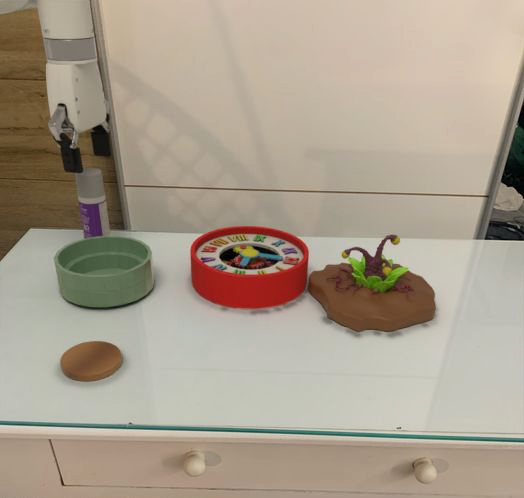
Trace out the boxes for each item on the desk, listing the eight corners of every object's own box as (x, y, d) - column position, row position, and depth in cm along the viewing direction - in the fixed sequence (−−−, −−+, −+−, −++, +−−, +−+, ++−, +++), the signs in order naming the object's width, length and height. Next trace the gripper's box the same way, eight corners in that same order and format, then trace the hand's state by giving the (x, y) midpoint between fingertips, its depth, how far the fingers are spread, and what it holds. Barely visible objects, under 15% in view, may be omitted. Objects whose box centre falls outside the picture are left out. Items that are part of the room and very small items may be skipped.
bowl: (42, 301, 88) (34, 267, 85) (89, 261, 100) (84, 230, 97) (129, 317, 85) (125, 282, 82) (168, 274, 98) (165, 242, 94)
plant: (456, 323, 87) (474, 258, 81) (341, 338, 83) (351, 271, 76) (397, 267, 103) (408, 208, 97) (298, 277, 98) (302, 217, 92)
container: (82, 255, 103) (68, 174, 94) (94, 245, 106) (82, 166, 98) (105, 258, 102) (94, 177, 93) (116, 248, 106) (106, 169, 97)
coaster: (49, 375, 73) (47, 369, 73) (80, 342, 79) (79, 336, 79) (104, 386, 72) (103, 380, 71) (132, 352, 78) (131, 346, 77)
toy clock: (211, 220, 103) (317, 233, 100) (211, 249, 107) (314, 263, 103) (172, 266, 87) (297, 284, 84) (174, 299, 91) (294, 317, 87)
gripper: (78, 43, 93) (94, 148, 102) (15, 56, 79) (40, 176, 89) (119, 45, 91) (131, 152, 101) (62, 59, 77) (83, 181, 87)
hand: (89, 163), depth 95 cm, fingers open, 9 cm apart
